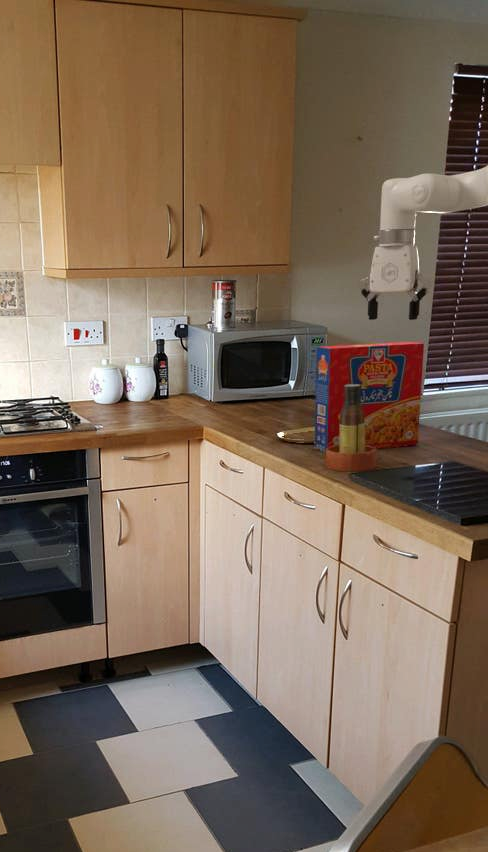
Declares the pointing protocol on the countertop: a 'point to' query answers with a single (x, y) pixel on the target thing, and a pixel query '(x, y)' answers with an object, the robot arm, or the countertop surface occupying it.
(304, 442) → the serving platter
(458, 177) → the robot arm
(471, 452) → the countertop surface
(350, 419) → the sauce bottle
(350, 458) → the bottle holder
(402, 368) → the pasta box
